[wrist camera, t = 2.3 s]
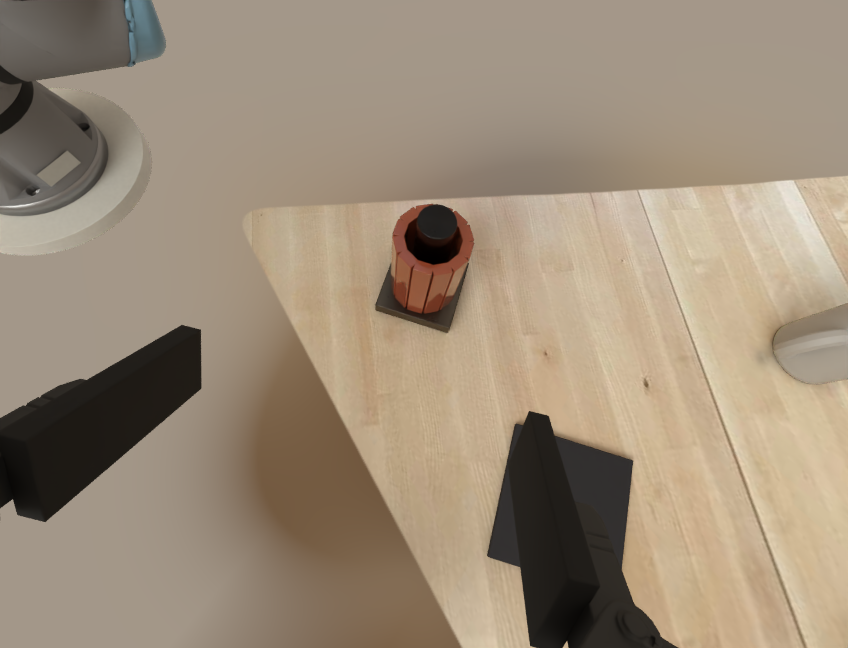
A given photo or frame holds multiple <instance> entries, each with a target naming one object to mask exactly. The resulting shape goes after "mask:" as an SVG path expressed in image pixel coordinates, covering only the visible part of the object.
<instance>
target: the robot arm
mask: <svg viewBox="0 0 848 648" xmlns="http://www.w3.org/2000/svg"><path fill="white" fill-rule="evenodd" d="M165 48H166V40H165V36H164V33H163V30H162V28H161V25H160V22H159V19H158V16H157V14H156V11H155V8H154V6H153V3H152V0H0V214H3V215H9V216H32V215H39V214H44V213H48V212H51V211H55V210H57V209H60V208H62V207H65V206H67V205H69V204H71V203H73V202H74V201H76V200H78V199H79V198H81V197H82V196H83V195H85V194H86V193H87V192H88V191H89V190H90V189H91V188H92V187H93V186H94V185H95V184H96V183H97V182H98V180H99V179H100V177H101V176H102V174H103V172H104V170H105V168H106V165H107V161H108V145H107V142H106V139H105V137H104V135H103V134H102V132H101V131H100V130H99V128H98V127H97V126H96V125H95V124H94V123H93V121H92V120H91V119H90V118H89V117H88V116H87V115H86V114H85V113H84V112H82V111H81V110H80V109H78V108H76V107H75V106H73V105H72V104H70V103H69V102H67V101H66V100H64V99H63V98H61V97H60V96H58V95H57V94H55V93H54V92H52V91H51V90H49V89H47V88H46V87H44V86H43V85H41V84H40V83H38V82H37V81H36V80H42V79H48V78H55V77H61V76H67V75H74V74H80V73H86V72H93V71H99V70H106V69H112V68H118V67H124V66H128V67H132V66H134V65H135V64H136V63H138V62H142V61H146V60H150V59H154V58H158V57H160V56H161V55H162V54H163V53H164V51H165ZM200 389H201V330H199V329H195V328H192V327H188V326H184V325H181V326H179V327H178V328H176V329H174V330H172V331H171V332H169V333H167V334H166V335H164V336H162V337H160V338H159V339H157V340H155V341H153V342H152V343H150V344H148V345H147V346H145V347H143V348H141V349H140V350H138V351H136V352H134V353H133V354H131V355H129V356H128V357H126V358H124V359H122V360H121V361H119V362H117V363H115V364H114V365H112V366H110V367H108V368H107V369H105V370H103V371H102V372H100V373H98V374H96V375H95V376H93V377H91V378H89V379H88V380H84V379H79V380H75V381H72V382H69V383H66V384H63V385H60V386H57V387H56V388H54V389H52V390H50V391H48V392H47V393H45V394H43V395H42V396H41V397H40V398H39V397H38V398H36V399H34V400H32V401H30V402H29V403H27V405H26V406H22V407H19V408H18V409H16V410H14V411H12V412H11V413H9V414H7V415H5V416H3V417H2V418H0V508H1V507H3V506H4V505H5V504H7V503H8V502H9V501H11V500H12V499H13V500H14V504H15V508H16V512H17V515H20V516H23V517H27V518H32V519H35V520H39V521H43V522H46V521H47V520H48V519H49V518H50V517H52V516H53V515H54V514H55V513H56V512H58V511H59V510H60V509H61V508H62V507H63V506H64V505H66V504H67V503H68V502H69V501H70V500H72V499H73V498H74V497H75V496H76V495H77V494H79V493H80V492H81V491H82V490H83V489H84V488H86V487H87V486H88V485H89V484H90V483H91V482H93V481H94V480H95V479H96V478H97V477H98V476H99V475H101V474H102V473H103V472H104V471H105V470H107V469H108V468H109V467H110V466H111V465H112V464H114V463H115V462H116V461H117V460H118V459H119V458H121V457H122V456H123V455H124V454H125V453H126V452H128V451H129V450H130V449H131V448H132V447H133V446H135V445H136V444H137V443H138V442H139V441H140V440H142V439H143V438H144V437H145V436H146V435H147V434H148V433H150V432H151V431H152V430H153V429H154V428H155V427H157V426H158V425H159V424H160V423H162V422H163V421H164V420H165V419H166V418H167V417H168V416H170V415H171V414H172V413H173V412H174V411H175V410H177V409H178V408H179V407H180V406H181V405H183V404H184V403H185V402H186V401H187V400H188V399H190V398H191V397H192V396H193V395H194V394H195V393H197V392H198V391H199V390H200ZM508 471H509V479H510V487H511V495H512V503H513V511H514V519H515V527H516V535H517V543H518V552H519V560H520V568H521V576H522V584H523V592H524V600H525V608H526V616H527V625H528V633H529V641H530V646H532V647H536V648H563V646H564V644H565V643H566V641H567V642H568V647H569V648H678V647H676V646H674V645H673V644H671V643H669V642H668V641H666V640H665V639H663V638H662V637H661V636H660V633H659V631H658V630H657V628H656V626H655V625H654V623H653V622H652V620H651V619H650V618H649V617H648V616H647V615H646V614H645V613H644V612H643V611H642V610H641V609H639V608H638V607H636V606H635V604H634V602H633V600H632V597H631V594H630V591H629V589H628V586H627V583H626V581H625V578H624V575H623V572H622V570H621V567H620V564H619V562H618V559H617V556H616V553H614V548H613V545H612V543H611V540H609V534H608V532H607V529H606V526H605V524H604V521H603V520H602V518H601V517H600V516H599V514H598V513H597V512H596V510H595V509H594V508H593V506H591V505H587V504H583V503H579V502H575V501H574V498H573V495H572V491H571V488H570V485H569V482H568V478H567V475H566V472H565V468H564V465H563V462H562V459H561V455H560V452H559V449H558V445H557V442H556V439H555V436H554V432H553V429H552V426H551V422H550V419H549V416H547V415H543V414H539V413H535V412H531V411H529V413H528V415H527V418H526V420H525V423H524V425H523V428H522V430H521V433H520V435H519V438H518V440H517V443H516V445H515V448H514V450H513V453H512V455H511V458H510V461H509V463H508Z"/></svg>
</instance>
